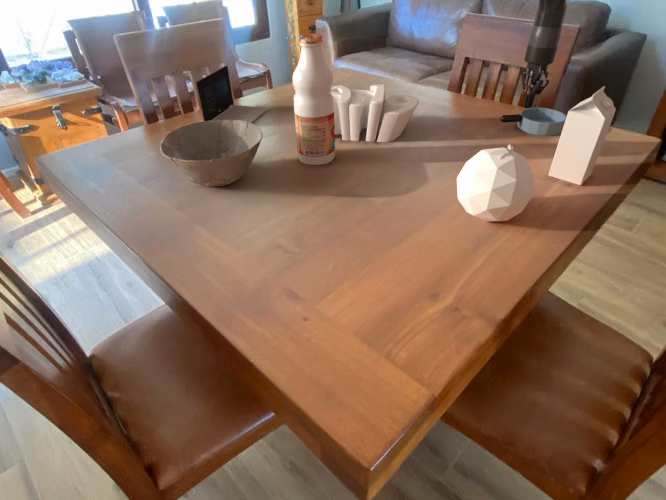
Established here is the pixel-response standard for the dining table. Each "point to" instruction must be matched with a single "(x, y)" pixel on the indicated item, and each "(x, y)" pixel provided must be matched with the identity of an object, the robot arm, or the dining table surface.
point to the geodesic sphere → (495, 184)
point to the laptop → (222, 99)
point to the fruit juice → (313, 104)
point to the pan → (538, 121)
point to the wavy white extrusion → (371, 113)
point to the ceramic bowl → (213, 150)
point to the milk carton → (582, 138)
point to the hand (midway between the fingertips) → (526, 107)
